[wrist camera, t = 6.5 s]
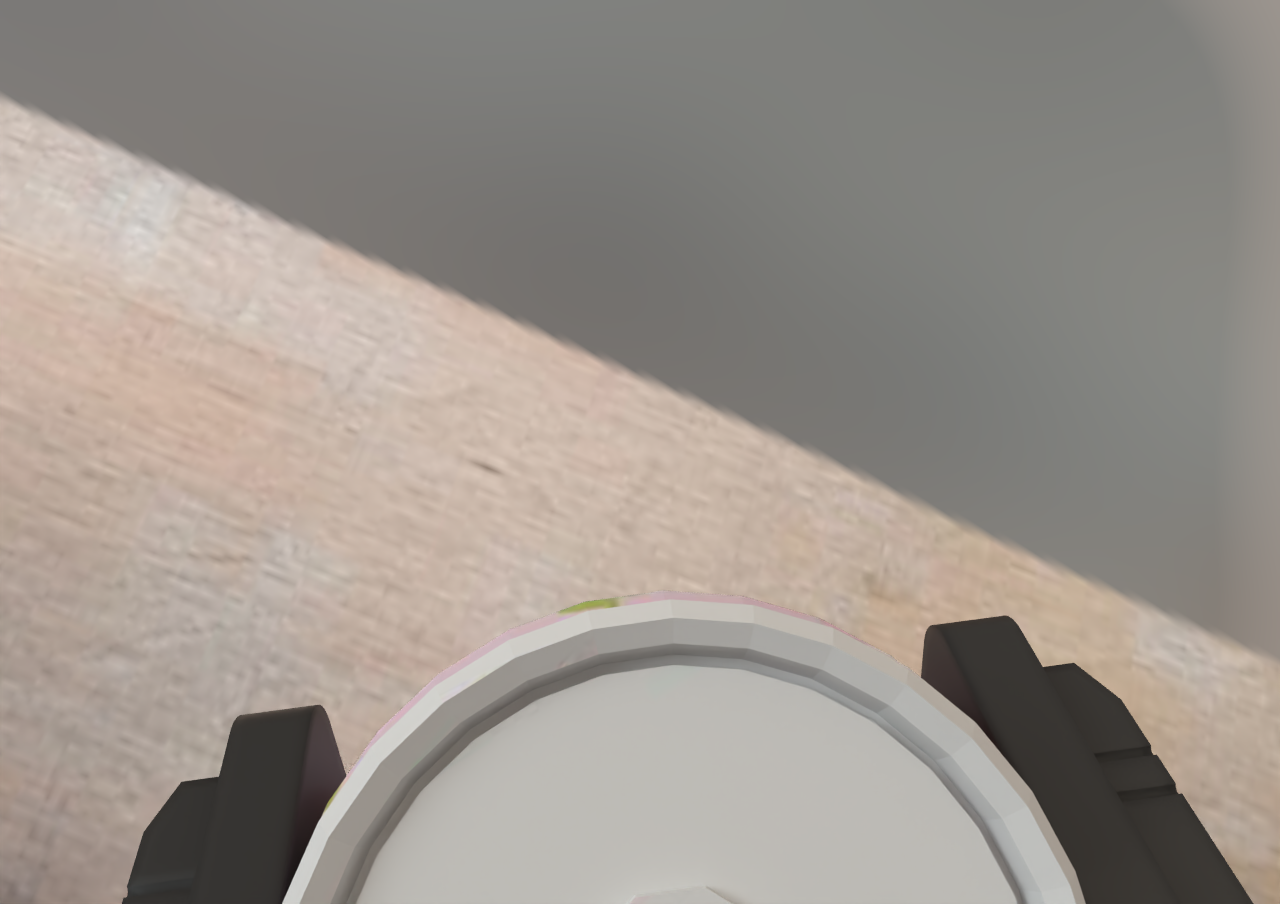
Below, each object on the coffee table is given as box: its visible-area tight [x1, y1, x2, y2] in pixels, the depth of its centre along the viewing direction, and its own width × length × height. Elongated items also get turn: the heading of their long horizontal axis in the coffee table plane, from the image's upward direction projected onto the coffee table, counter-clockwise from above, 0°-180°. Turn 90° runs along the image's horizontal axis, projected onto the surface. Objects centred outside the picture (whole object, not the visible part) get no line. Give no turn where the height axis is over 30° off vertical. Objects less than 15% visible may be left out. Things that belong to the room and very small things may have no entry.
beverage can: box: [282, 591, 1086, 904], centre depth 14 cm, size 6×6×15 cm
